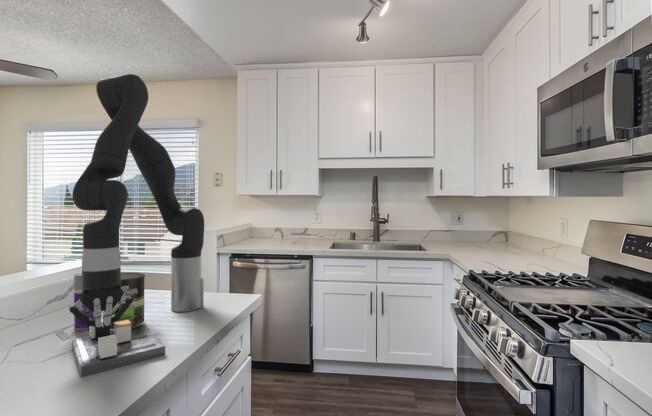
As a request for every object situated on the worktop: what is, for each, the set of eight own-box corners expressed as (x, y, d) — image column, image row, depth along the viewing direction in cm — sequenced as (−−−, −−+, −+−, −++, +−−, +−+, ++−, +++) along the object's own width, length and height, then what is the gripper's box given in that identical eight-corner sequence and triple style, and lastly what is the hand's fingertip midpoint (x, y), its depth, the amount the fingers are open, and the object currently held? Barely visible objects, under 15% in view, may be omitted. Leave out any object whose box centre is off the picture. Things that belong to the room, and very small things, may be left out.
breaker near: (114, 350, 78) (114, 334, 78) (116, 354, 75) (116, 338, 75) (98, 353, 76) (98, 337, 76) (100, 358, 74) (100, 342, 73)
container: (84, 331, 95) (83, 276, 95) (69, 329, 96) (69, 275, 96) (98, 325, 100) (98, 272, 100) (84, 323, 101) (84, 271, 101)
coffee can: (145, 327, 98) (144, 277, 98) (101, 334, 93) (101, 281, 93) (145, 317, 107) (144, 271, 107) (105, 322, 102) (104, 274, 102)
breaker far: (103, 332, 88) (103, 318, 88) (105, 335, 86) (105, 321, 86) (89, 335, 86) (89, 321, 86) (91, 338, 84) (91, 324, 84)
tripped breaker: (128, 336, 86) (128, 319, 86) (131, 340, 83) (131, 322, 83) (114, 339, 84) (114, 322, 84) (116, 343, 82) (116, 325, 81)
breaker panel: (144, 331, 95) (144, 323, 95) (165, 354, 81) (165, 345, 81) (71, 346, 85) (71, 338, 85) (80, 376, 71) (80, 366, 70)
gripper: (130, 261, 88) (131, 330, 88) (64, 267, 79) (65, 343, 80) (137, 265, 82) (138, 339, 83) (67, 273, 74) (68, 354, 74)
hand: (102, 341), depth 81 cm, fingers closed
